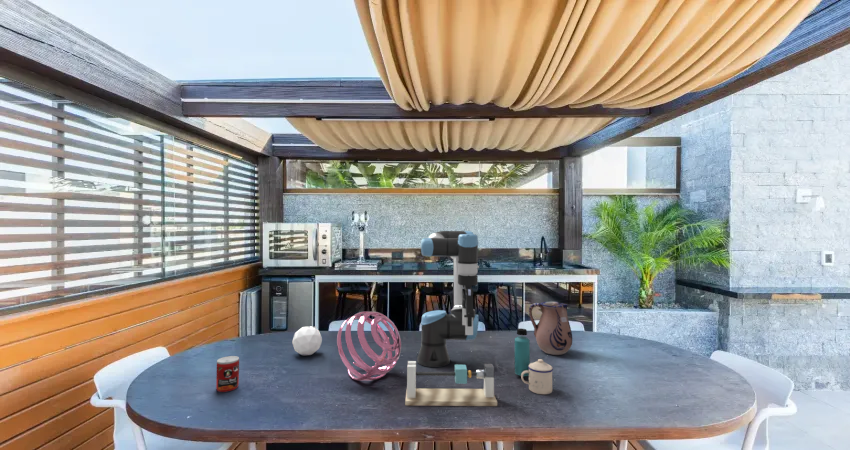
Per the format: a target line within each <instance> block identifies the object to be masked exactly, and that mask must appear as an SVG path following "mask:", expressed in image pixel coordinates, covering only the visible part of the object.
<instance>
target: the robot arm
mask: <svg viewBox="0 0 850 450" xmlns="http://www.w3.org/2000/svg"><path fill="white" fill-rule="evenodd" d="M478 238H479V236H478V235H477V234H475V233H474V232H473V231H471V230H470V231H469V230H441V231H440V230H439V231H436V232H434V233H431V234H430V235H429V236H428V237H424V238H422V239H421V241H420V242H421V243H420V244H421V248H420V250H421V255H422V256H424V257H429V258H430V257H450V258H451V259H452V260H453V307H452V309H450V313H447V311H446V310H441V309H438V310H437V309H436V310H430V311H427V312H425V313H423V314H422V316H421V322H420V325H421V331H420V332H421V334H420V335H421V336H420V338H421V339H420V340H421V344H420V348H419V352H418V355H417V361H416V363H417V364H419V365H421V366H424V367H430V368H439V367H444V366H447V365H449V364H450V362H451V361H450V359H451V357H450V355H449V352H448V347H447V340H449V341H450V340H451V341H454V340H455V341H472V340H473V341H474V340H475V339H477V336H478V329H479V321H480V320H479V314H476V310H475V309H474V289H473V288H472V286H477V285H478V283H479V280H478V271H479V270H478V269H479V268H480V266H479V265H478V264H479V263H478V258H479V257H478V254H479V239H478Z"/></svg>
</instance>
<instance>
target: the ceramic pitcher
mask: <svg viewBox="0 0 850 450" xmlns="http://www.w3.org/2000/svg"><path fill="white" fill-rule="evenodd" d="M537 307H538V308H539V309H540V311H541V315H540V318H539V321H538V323H536V321H535V320H534V317H533V312H532V311H533V309H534V308H537ZM528 316H529V319H530V321H531V324H532V326H533V334H534V337H535V340H536V343H537V346H538V347H539V349H540V350H541V351H543V352H544V353H546V354H548V355H552V356H561V355H565V354H566V353H568V351H569V350H570V349H571V347H572V345H573V334H572V328H571V323H570V320H569V317H568V316H569V315H568V304H567V303H565V302H564V303H563V302H562V303H559V302H558V301H542V302H535V303H532V304H530V306H529V308H528Z"/></svg>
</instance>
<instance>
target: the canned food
mask: <svg viewBox="0 0 850 450" xmlns="http://www.w3.org/2000/svg"><path fill="white" fill-rule="evenodd" d="M239 376H240V357H239V356H235V355H230V356H223V357H219V358H218V359H217V360H216V377H215V378H216V383H215V384H216V385H215V389H216V390H217V392H220V393H225V392H231V391H234V390H237V388H238V387H239V384H240V383H239V382H240V381H239V380H240V379H239V378H240V377H239Z"/></svg>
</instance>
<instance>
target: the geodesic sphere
mask: <svg viewBox="0 0 850 450" xmlns="http://www.w3.org/2000/svg"><path fill="white" fill-rule="evenodd" d="M322 341H323V338H322V334H321V333H320V330H318V328H317V326H311V325H308V326H302V327H301V328H299V329H298V330H297V331H296V332H294V334H293V338H292V342H291V343H292V346H293V349H294V352H296V353H298V354H299V355H301V356H311V355H314V353H316V352H317V351H318V350H319V349H320V348H321V345H322Z"/></svg>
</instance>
